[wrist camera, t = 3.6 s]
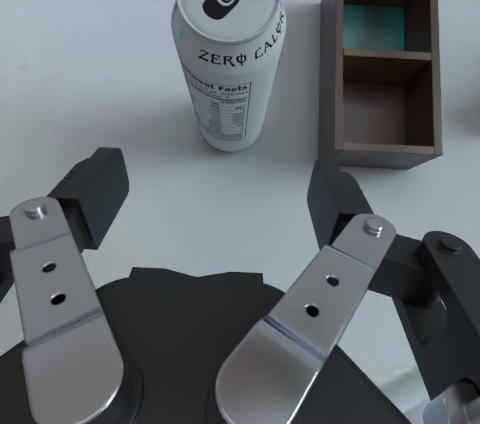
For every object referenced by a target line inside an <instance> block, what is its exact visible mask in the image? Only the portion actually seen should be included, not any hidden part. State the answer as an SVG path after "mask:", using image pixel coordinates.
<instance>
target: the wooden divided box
mask: <svg viewBox="0 0 480 424" xmlns="http://www.w3.org/2000/svg"><path fill="white" fill-rule="evenodd" d="M441 155H442V123H441V89H440V54H439V20H438V0H322V1H321V28H320V84H319V141H318V159H326V160H336V162H337V164H338V166H356V167H376V168H396V169H411V168H413V167H415V166H418V165H420V164H422V163H425V162H427V161H429V160H432V159H434V158H436V157H439V156H441Z"/></svg>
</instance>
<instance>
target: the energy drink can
mask: <svg viewBox="0 0 480 424" xmlns="http://www.w3.org/2000/svg"><path fill="white" fill-rule="evenodd" d="M171 28H172V34H173V38H174V41H175V45H176V48H177V51H178V55H179V58H180V62H181V65H182V69H183V72H184V75H185V79H186V82H187V86H188V89H189V93H190V96H191V99H192V103H193V106H194V110H195V113H196V116H197V120H198V123H199V127H200V130H201V133H202V135H203V136H204V138H205V139H206V140H207V141H208V143H209V144H211V145H212V146H214V147H215V148H217V149H220V150H223V151H231V152H233V151H239V150H242V149H245V148H247V147H249V146H250V145H251V144H253V143H254V142H255V141H256V139H257V138H258V137H259V135H260V133H261V130H262V126H263V122H264V118H265V114H266V110H267V106H268V102H269V98H270V94H271V89H272V85H273V81H274V77H275V73H276V69H277V65H278V61H279V57H280V53H281V49H282V45H283V41H284V36H285V32H286V15H285V10H284V7H283V4H282V2H281V0H176V1H175V4H174V7H173V10H172V16H171Z"/></svg>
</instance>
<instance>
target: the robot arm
mask: <svg viewBox="0 0 480 424" xmlns="http://www.w3.org/2000/svg"><path fill="white" fill-rule="evenodd" d="M128 192H129V180H128V175H127V171H126V167H125V162H124V158H123V154H122V151H121V149H120V148H107V147H99V148H98V149H97V150H96V152H95V153H94V154H93V155H92V156H91V157H90V158H87V159H85V160H83V161H81V162H79V163H78V164H76V165H75V166H74V167H73V168H72V169H71V170H70V171H69V173H68V174H67V175H66V176H65V177H64V179H62V180H61V181H60V182H59V183H58V185H57V186H56V187H55V188H54V189H53V190H52V191H51V192H50V193H49V194H48V195H47V197H39V198H34V199H30V200H27V201H25V202H23V203H21V204H19V205H17V206H16V207H15V208H14V209H13V210H12V211H11V213H10V216H4V217H0V303H1V301H2V300H3V298H4V297H5V295H6V294H7V292H8V291H9V289H10V288H11V286H12V285H13V284H14V282H15V288H16V293H17V299H18V305H19V311H20V317H21V323H22V328H23V334H24V340H23V341H21V342H20V343H19V344H17V345H16V346H14V347H13V348H11V349H10V350H9V351H7V352H6V353H4V354H3V355H2V356H0V424H412V423H411V422H410V421H409V420H408V419H407V418H406V417H405V416H404V415H403V414H402V412H401V411H400V410H399V409H398V408H397V407H396V406H395V405H394V404H393V403H392V402H391V401H390V400H389V399H388V398H387V397H386V396H385V395H384V393H383V392H382V391H381V390H380V389H379V388H378V387H377V386H376V385H375V384H374V383H373V382H372V381H371V380H370V379H369V378H368V377H367V376H366V374H365V373H364V372H363V371H362V370H361V369H360V368H359V367H358V366H357V365H356V364H355V363H354V362H353V361H352V360H351V359H350V358H349V357H348V356H347V354H346V353H345V352H344V351H343V350H342V349H341V348H340V347H339V346H338V343H339V341H340V339H341V337H342V335H343V333H344V332H345V330H346V328H347V326H348V324H349V322H350V320H351V319H352V317H353V315H354V313H355V311H356V310H357V308H358V306H359V304H360V302H361V300H362V299H363V297H364V295H365V293H366V291H367V289H368V290H371V291H374V292H377V293H380V294H384V295H387V296H390V297H392V299H393V302H394V305H395V307H396V310H397V313H398V315H399V318H400V320H401V323H402V326H403V328H404V331H405V334H406V336H407V339H408V342H409V344H410V347H411V349H412V352H413V355H414V357H415V360H416V363H417V365H418V368H419V371H420V373H421V376H422V378H423V381H424V384H425V386H426V389H427V392H428V394H429V397H430V400H431V402H430V403H428V404H427V406H426V407H425V410H424V414H423V421H424V424H480V259H479V258H478V256H477V255H476V254H475V252H474V251H473V250H472V248H471V247H470V246H469V245H468V244H467V243H466V242H464V241H463V240H462V239H460V238H458V237H456V236H454V235H452V234H449V233H446V232H441V231H431V232H428V233H426V234H425V236H424V237H423V239H422V241H420V240H416V239H412V238H409V237H405V236H401V235H398V234H396V230H395V228H394V226H393V225H392V224H391V223H390V222H389V221H387V220H386V219H384V218H382V217H380V216H378V215H374V213H373V211H372V209H371V207H370V206H369V204H368V202H367V200H366V198H365V196H364V195H363V192H362V191H361V189H360V187H359V185H358V183H357V181H356V179H354V178H353V177H352V176H351V175H349V174H348V173H347V172H341V170H340V168H339V166H338V164H337V162H336V160H326V159H317V160H316V161H315V164H314V168H313V172H312V176H311V180H310V185H309V189H308V195H307V203H308V208H309V211H310V215H311V219H312V223H313V227H314V230H315V234H316V238H317V242H318V246H319V249H320V251H319V253H318V254H317V255H316V256H315V258H314V259H313V260H312V261H311V262H310V264H309V265H308V266H307V267H306V269H305V270H304V271H303V272H302V274H301V275H300V276H299V277H298V278H297V280H296V281H295V282H294V283H293V285H292V286H291V287H290V288H289V290H288V291H287V292H286V293H285V292H283V291H281V290H279V289H278V288H276V287H273V286H270V285H268V284H264V283H263V273H245V272H227V273H221V274H214V275H208V276H202V277H194V276H190V275H186V274H183V273H179V272H175V271H172V270H168V269H161V268H140V267H133V268H132V271H131V273H130V276H129V277H128V278H123V279H119V280H116V281H113V282H110V283H108V284H106V285H103V286H101V287H99V288H98V289H95V286H94V284H93V282H92V279H91V277H90V274H89V272H88V269H87V267H86V265H85V262H84V260H83V257H82V255H81V254H82V252H83V250H84V249H93V250H97V249H98V248H99V246H100V244H101V242H102V240H103V239H104V237H105V235H106V233H107V231H108V229H109V228H110V226H111V224H112V222H113V220H114V219H115V217H116V215H117V213H118V211H119V210H120V208H121V206H122V204H123V202H124V200H125V199H126V197H127V195H128ZM441 299H442V301H443V303H444V305H445V307H446V309H445V307H444V305H443V303H442V301H441ZM446 310H447V311H446Z"/></svg>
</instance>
